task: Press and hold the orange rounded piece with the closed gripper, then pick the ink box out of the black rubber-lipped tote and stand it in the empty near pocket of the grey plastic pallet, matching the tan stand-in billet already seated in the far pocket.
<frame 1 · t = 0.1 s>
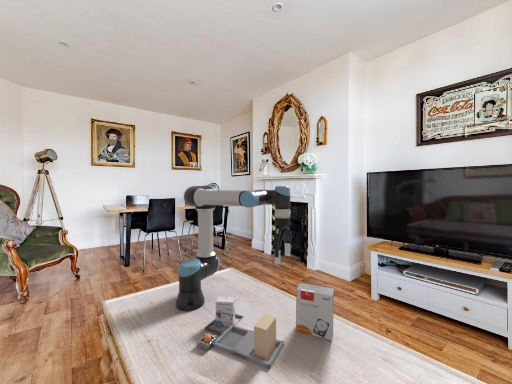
hand: (282, 259, 119), 28 cm above the table, fingers open, 13 cm apart
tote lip: (225, 323, 113), on the table
pallet: (248, 348, 96), on the table
stand-in billet: (265, 351, 92), point 1 cm above the table, touching pallet
button housing: (207, 344, 98), on the table
ink box: (225, 324, 113), resting in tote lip
orange rounded piece: (207, 340, 98), point 2 cm above the table, slide at 1.2 cm
hard drive box: (314, 333, 106), on the table
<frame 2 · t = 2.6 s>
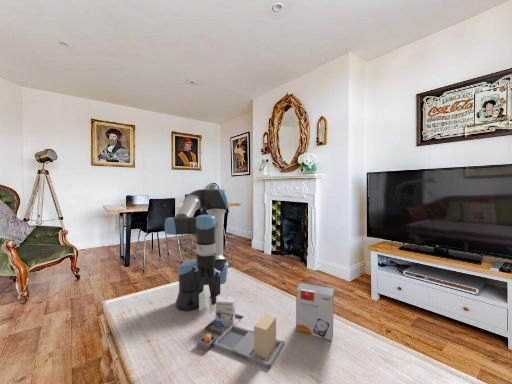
hand: (207, 309, 98), 15 cm above the table, fingers open, 4 cm apart
nothing on the table moved.
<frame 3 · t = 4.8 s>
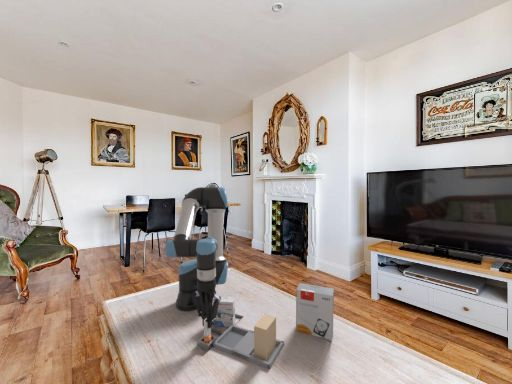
hand: (207, 334, 98), 4 cm above the table, fingers closed
nothing on the table moved.
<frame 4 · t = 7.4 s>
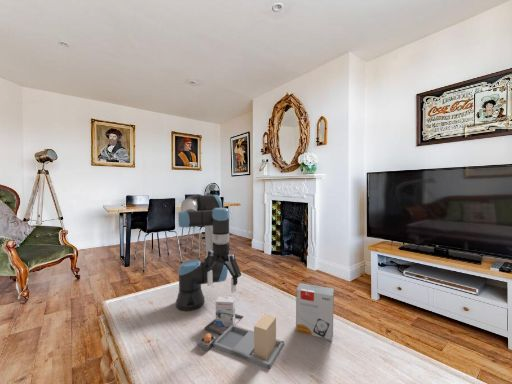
hand: (221, 288, 110), 18 cm above the table, fingers open, 13 cm apart
nothing on the table moved.
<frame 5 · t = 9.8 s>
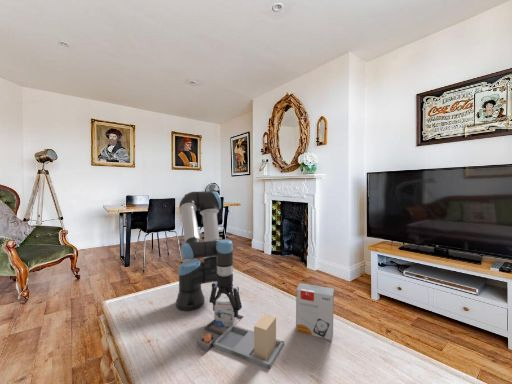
hand: (225, 320, 113), 2 cm above the table, fingers closed on ink box, 9 cm apart
ink box: (225, 324, 113), resting in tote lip, touching gripper
everything else where it was.
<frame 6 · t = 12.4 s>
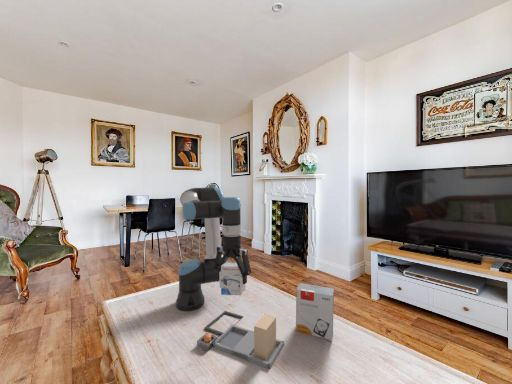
hand: (232, 288, 99), 23 cm above the table, fingers closed on ink box, 9 cm apart
ink box: (232, 293, 99), point 21 cm above the table, touching gripper
everything else where it was.
when the fingers open (4 cm above the table, at t = 15.0 s): ink box stays where it is, resting on pallet.
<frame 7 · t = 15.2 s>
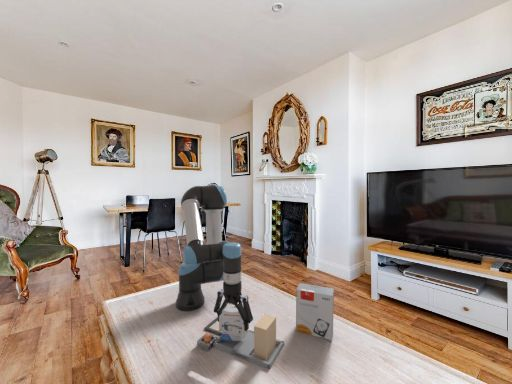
hand: (232, 333, 99), 4 cm above the table, fingers open, 11 cm apart
ink box: (233, 337, 99), point 2 cm above the table, touching pallet
everything else where it was.
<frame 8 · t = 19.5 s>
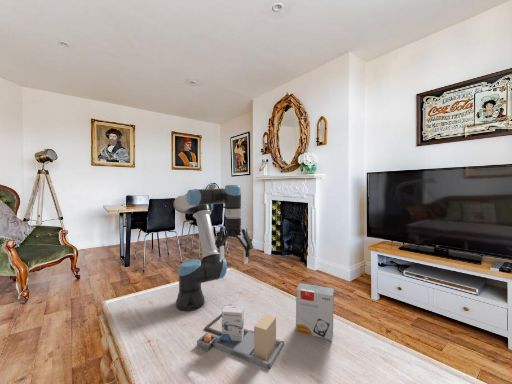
hand: (233, 261, 115), 29 cm above the table, fingers open, 13 cm apart
nothing on the table moved.
at the end: ink box 0.1 cm from the target spot on the pallet, point 2.3 cm above the pallet's base; ink box tilted 0°; the gripper is holding nothing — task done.
